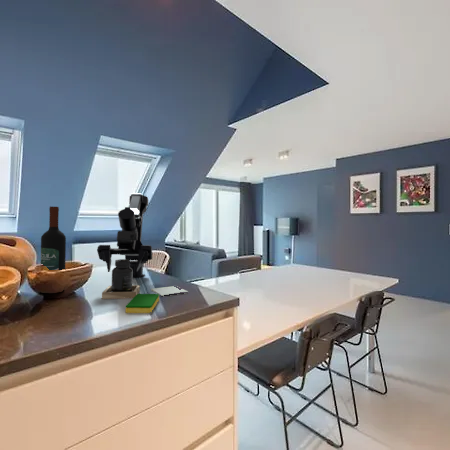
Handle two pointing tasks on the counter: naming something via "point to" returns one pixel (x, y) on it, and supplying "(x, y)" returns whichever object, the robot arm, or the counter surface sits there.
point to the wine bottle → (53, 244)
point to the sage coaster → (167, 290)
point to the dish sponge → (142, 303)
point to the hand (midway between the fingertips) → (122, 271)
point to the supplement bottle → (122, 276)
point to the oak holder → (120, 293)
